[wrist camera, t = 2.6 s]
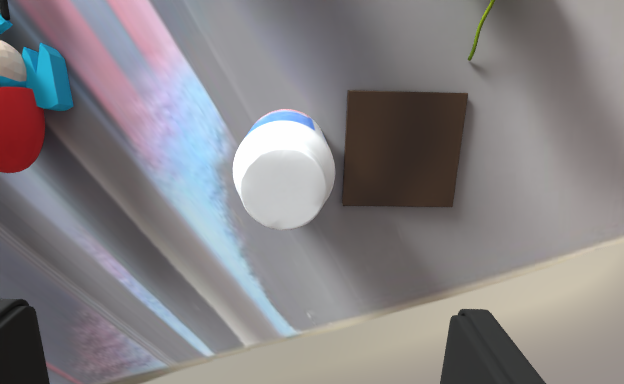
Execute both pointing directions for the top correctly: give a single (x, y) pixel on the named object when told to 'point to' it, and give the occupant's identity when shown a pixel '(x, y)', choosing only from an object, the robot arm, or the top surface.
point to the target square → (402, 148)
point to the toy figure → (27, 98)
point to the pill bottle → (284, 170)
